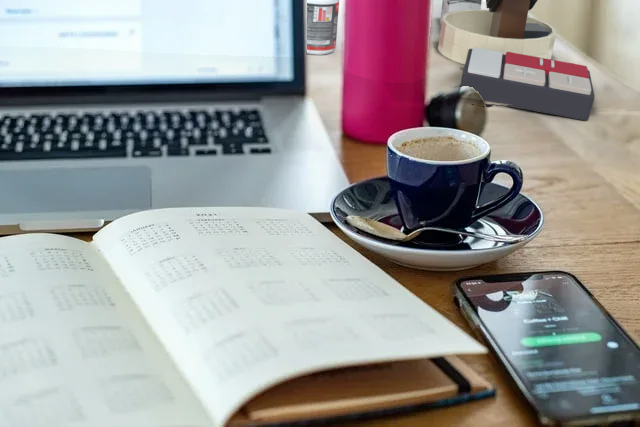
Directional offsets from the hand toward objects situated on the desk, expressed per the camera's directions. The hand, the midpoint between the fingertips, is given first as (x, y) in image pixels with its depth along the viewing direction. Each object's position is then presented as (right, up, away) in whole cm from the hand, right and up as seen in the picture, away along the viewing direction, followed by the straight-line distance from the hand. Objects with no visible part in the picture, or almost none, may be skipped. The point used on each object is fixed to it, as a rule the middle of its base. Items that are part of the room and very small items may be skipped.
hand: (506, 6), depth 116 cm
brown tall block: (0, -6, +1) cm, 6 cm away
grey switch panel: (0, -13, -10) cm, 17 cm away
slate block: (+3, -6, +4) cm, 8 cm away
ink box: (-4, -1, +15) cm, 15 cm away
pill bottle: (-25, -5, +2) cm, 26 cm away
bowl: (-1, -6, +4) cm, 8 cm away
